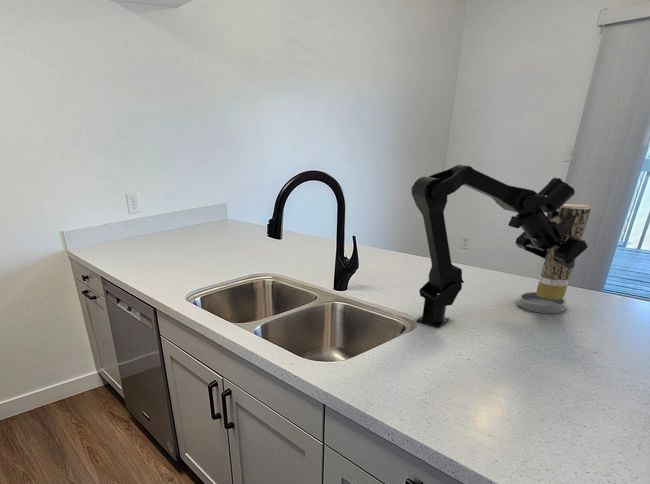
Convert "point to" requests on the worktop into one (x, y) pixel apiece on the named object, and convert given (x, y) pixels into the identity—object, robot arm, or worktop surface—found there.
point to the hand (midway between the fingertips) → (562, 263)
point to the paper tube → (554, 272)
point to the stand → (540, 303)
